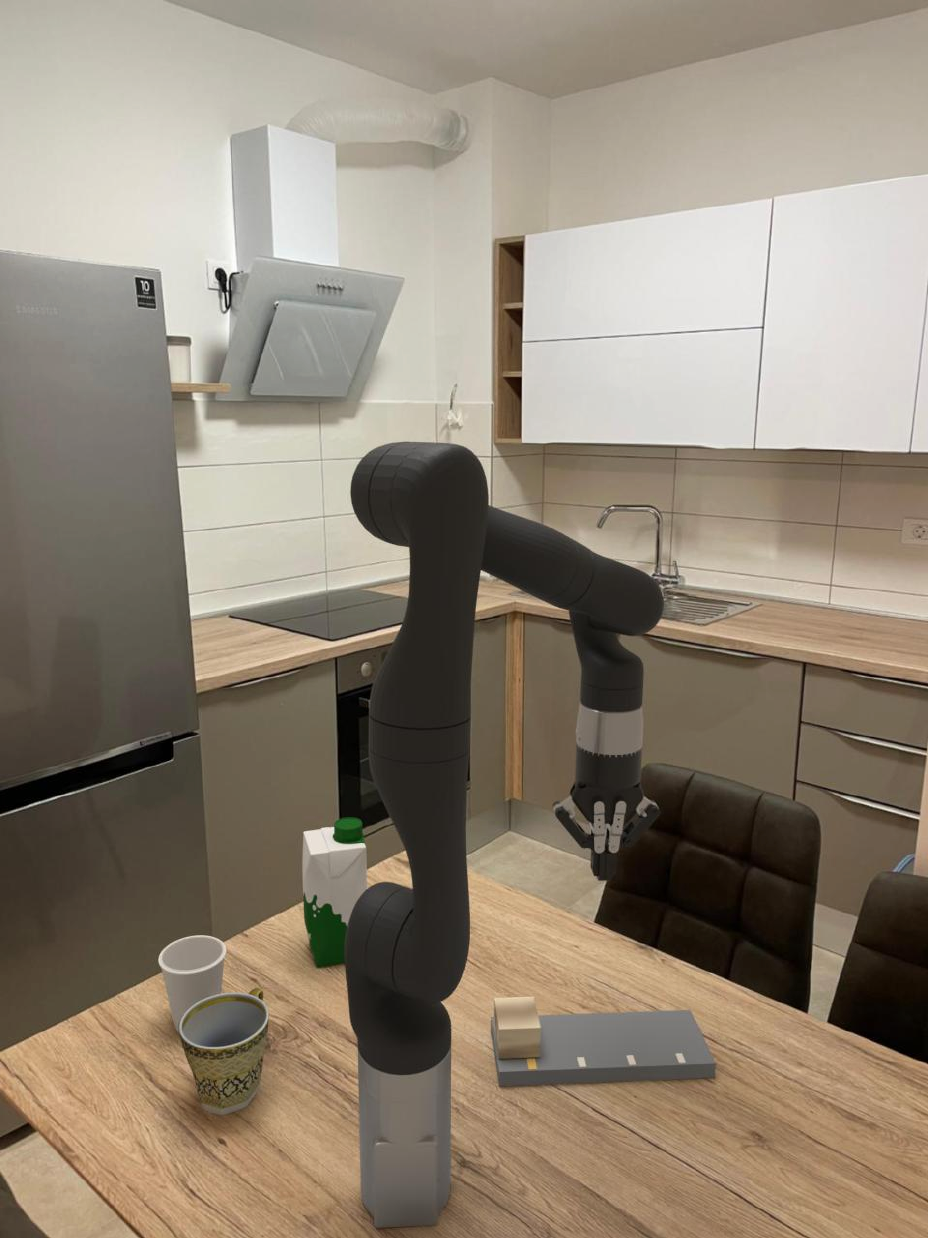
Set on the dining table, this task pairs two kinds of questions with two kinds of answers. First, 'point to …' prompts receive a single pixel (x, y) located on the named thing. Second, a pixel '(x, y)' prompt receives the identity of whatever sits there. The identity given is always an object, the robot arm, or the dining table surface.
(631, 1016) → the board
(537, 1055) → the knob
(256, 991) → the ceramic cup
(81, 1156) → the dining table surface
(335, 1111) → the dining table surface
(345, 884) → the soya milk
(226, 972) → the dining table surface
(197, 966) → the dixie cup
